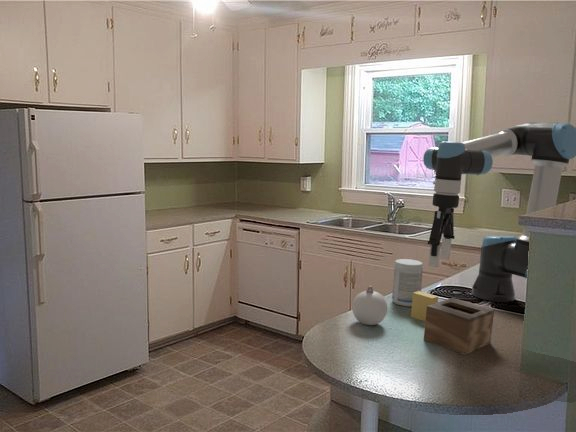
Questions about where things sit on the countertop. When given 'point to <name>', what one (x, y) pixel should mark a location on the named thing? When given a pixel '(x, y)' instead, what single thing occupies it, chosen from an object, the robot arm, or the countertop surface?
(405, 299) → the supplement tub
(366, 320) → the ornament
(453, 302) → the brown wooden slotted box
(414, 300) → the yellow rectangular block
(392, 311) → the countertop surface
